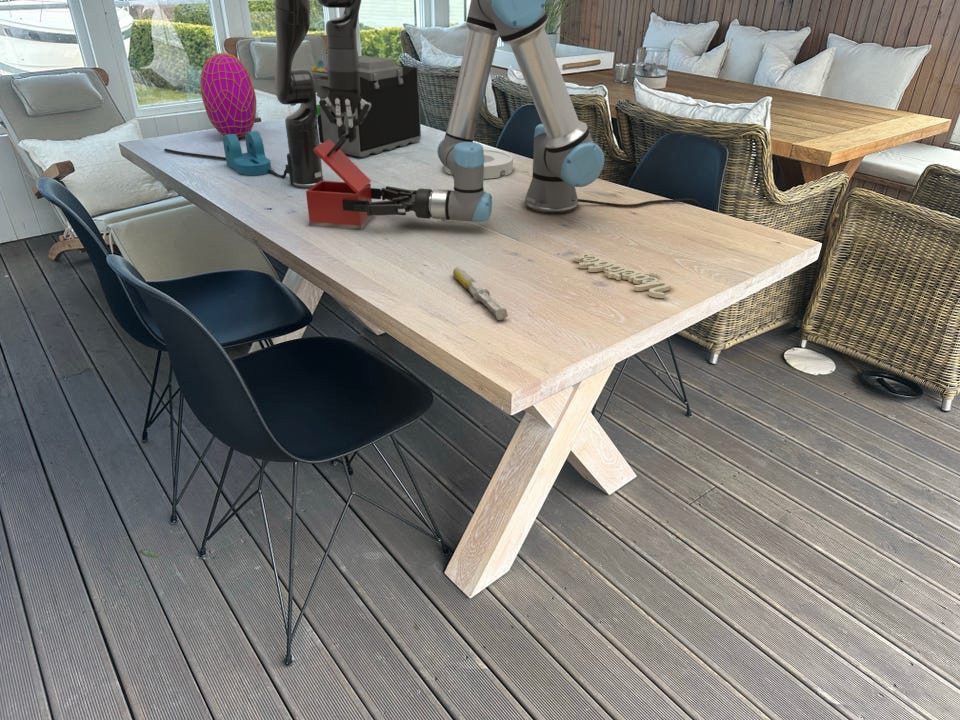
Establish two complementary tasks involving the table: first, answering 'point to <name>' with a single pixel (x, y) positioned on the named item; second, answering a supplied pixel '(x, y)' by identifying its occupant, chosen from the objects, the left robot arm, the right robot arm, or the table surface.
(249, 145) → the camera mount
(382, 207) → the right robot arm
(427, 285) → the table surface
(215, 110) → the decorative egg
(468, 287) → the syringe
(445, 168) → the ashtray
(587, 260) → the decorative sign
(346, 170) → the lid
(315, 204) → the chest
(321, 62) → the potted flower
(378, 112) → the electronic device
